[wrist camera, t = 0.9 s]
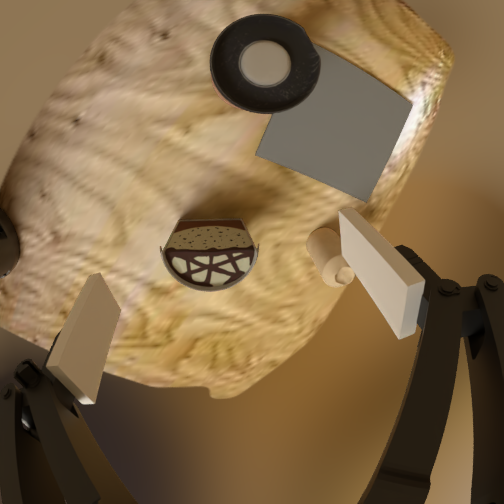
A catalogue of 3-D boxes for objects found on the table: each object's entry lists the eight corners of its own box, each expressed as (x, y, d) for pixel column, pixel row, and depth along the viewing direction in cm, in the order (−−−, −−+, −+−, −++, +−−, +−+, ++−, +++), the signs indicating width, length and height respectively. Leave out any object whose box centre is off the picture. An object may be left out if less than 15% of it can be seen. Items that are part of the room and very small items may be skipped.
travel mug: (206, 100, 34) (194, 100, 17) (221, 47, 31) (226, 0, 13) (262, 113, 36) (305, 129, 19) (278, 62, 32) (335, 33, 15)
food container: (172, 256, 45) (163, 296, 36) (168, 220, 42) (157, 254, 33) (250, 254, 46) (259, 293, 38) (252, 218, 43) (261, 251, 35)
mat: (255, 154, 39) (255, 155, 38) (305, 41, 31) (307, 40, 30) (364, 201, 44) (366, 202, 43) (410, 104, 36) (412, 105, 36)
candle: (300, 252, 47) (318, 289, 39) (315, 222, 45) (338, 254, 36) (328, 260, 49) (350, 296, 40) (343, 232, 46) (370, 265, 38)
